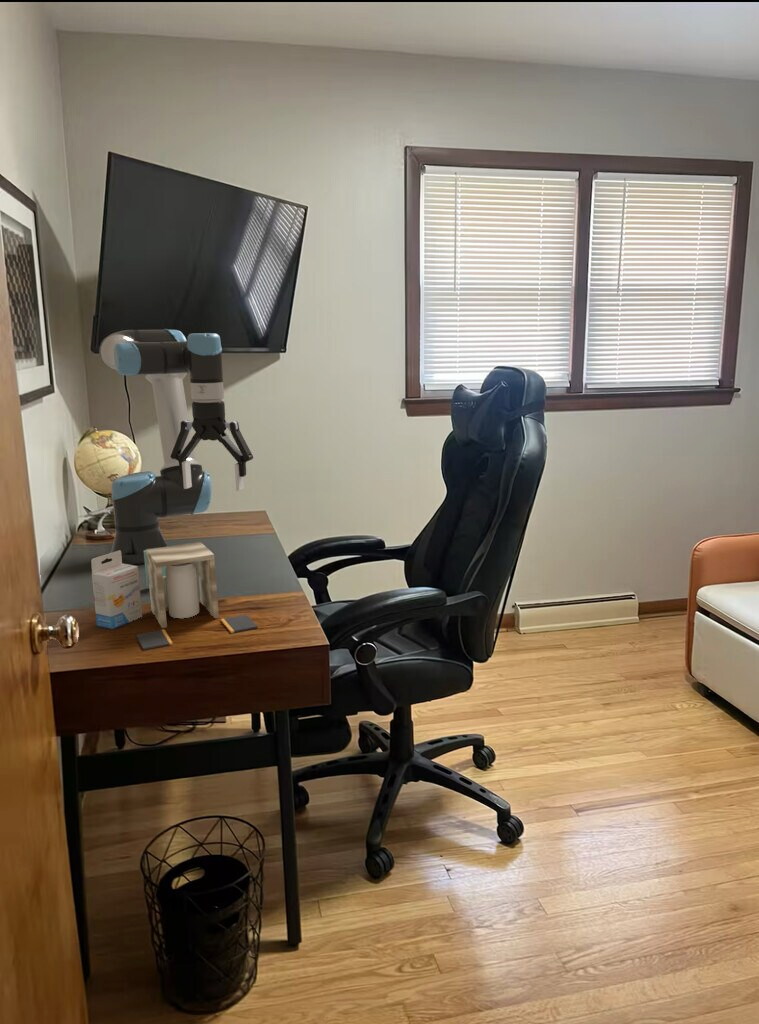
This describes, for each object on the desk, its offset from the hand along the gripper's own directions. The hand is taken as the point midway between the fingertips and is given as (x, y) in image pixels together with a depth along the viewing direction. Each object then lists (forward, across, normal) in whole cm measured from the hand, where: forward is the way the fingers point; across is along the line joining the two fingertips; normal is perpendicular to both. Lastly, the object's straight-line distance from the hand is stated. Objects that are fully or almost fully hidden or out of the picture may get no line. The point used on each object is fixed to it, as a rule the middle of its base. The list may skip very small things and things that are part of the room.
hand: (213, 488), depth 181 cm
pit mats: (+23, +10, -33) cm, 41 cm away
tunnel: (+23, +2, -24) cm, 33 cm away
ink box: (+23, -9, -30) cm, 39 cm away
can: (+23, +2, -24) cm, 33 cm away
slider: (+23, -6, -13) cm, 27 cm away
